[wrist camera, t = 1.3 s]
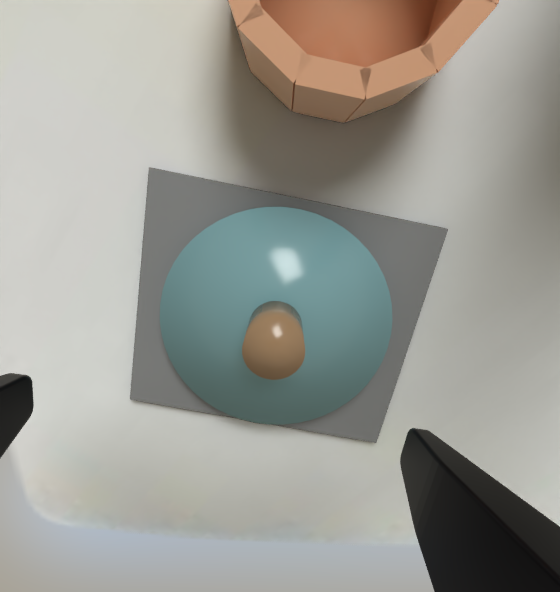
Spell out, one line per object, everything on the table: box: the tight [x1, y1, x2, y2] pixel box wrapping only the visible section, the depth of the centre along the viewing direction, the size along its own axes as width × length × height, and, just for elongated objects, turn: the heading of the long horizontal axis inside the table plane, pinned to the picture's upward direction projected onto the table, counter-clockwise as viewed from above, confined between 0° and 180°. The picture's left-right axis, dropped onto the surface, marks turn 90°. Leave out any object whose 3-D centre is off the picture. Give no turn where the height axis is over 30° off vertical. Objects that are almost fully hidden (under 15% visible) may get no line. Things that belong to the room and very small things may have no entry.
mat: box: [130, 168, 448, 443], centre depth 21 cm, size 16×14×1 cm
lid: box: [160, 206, 392, 425], centre depth 19 cm, size 13×13×4 cm
